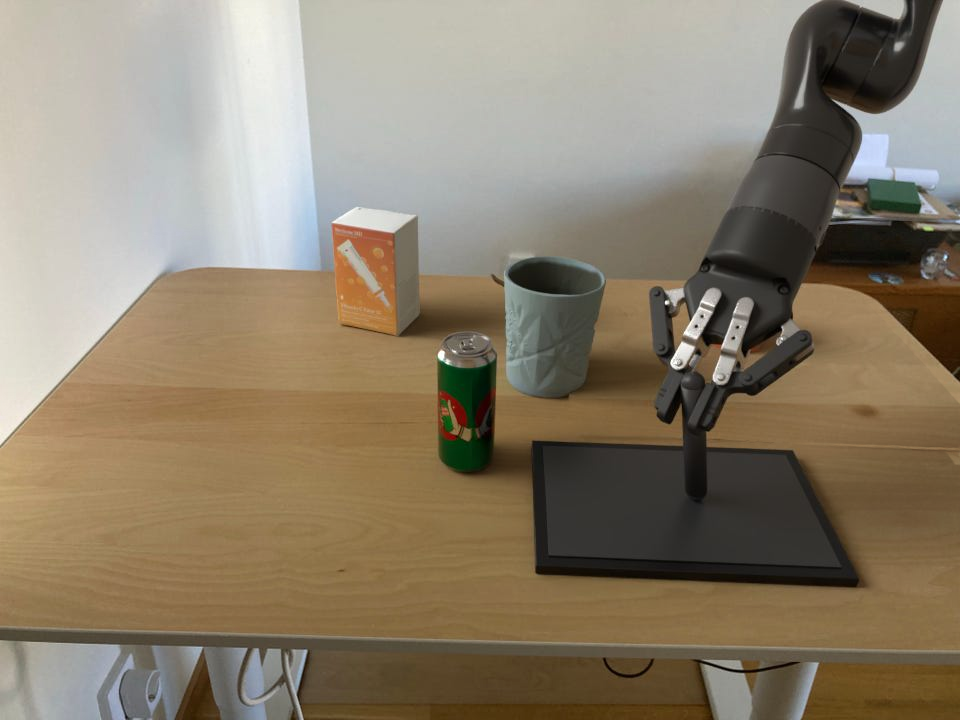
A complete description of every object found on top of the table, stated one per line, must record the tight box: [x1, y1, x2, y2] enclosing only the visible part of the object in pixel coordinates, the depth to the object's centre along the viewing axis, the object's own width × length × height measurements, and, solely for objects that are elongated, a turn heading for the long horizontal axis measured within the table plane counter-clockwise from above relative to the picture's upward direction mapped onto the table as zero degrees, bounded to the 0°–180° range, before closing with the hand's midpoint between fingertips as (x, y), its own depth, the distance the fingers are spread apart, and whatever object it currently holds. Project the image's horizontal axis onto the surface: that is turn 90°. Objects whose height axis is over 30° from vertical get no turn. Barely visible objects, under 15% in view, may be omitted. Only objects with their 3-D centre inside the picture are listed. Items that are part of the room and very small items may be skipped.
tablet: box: [530, 439, 860, 588], centre depth 65 cm, size 24×16×1 cm, turn 88°
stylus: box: [680, 370, 708, 501], centre depth 61 cm, size 2×2×13 cm
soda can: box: [436, 331, 498, 473], centre depth 68 cm, size 5×5×12 cm
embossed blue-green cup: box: [503, 255, 607, 399], centre depth 81 cm, size 10×10×12 cm
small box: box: [331, 206, 421, 337], centre depth 91 cm, size 8×6×13 cm
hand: (678, 425), depth 58 cm, fingers closed on stylus, 2 cm apart
